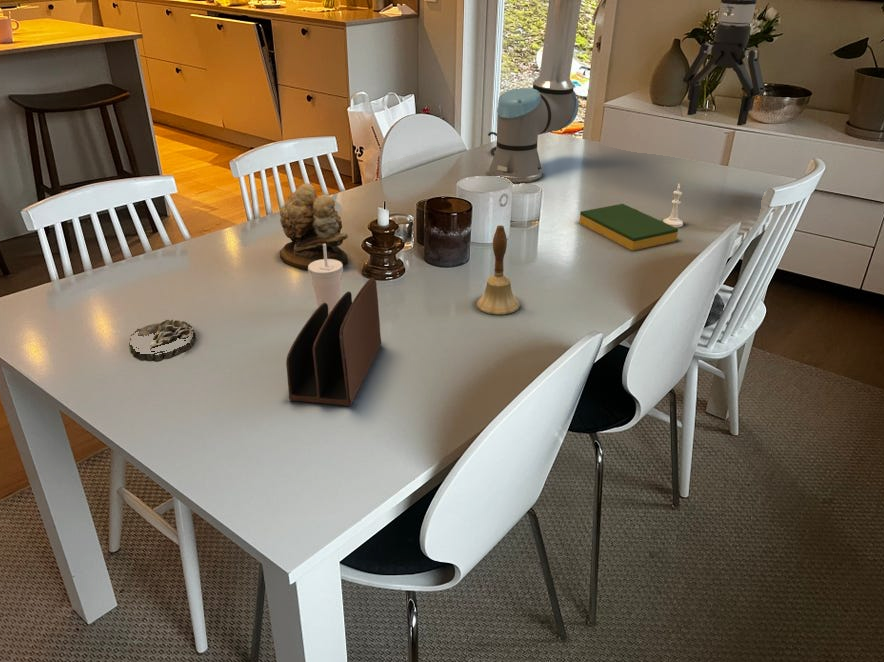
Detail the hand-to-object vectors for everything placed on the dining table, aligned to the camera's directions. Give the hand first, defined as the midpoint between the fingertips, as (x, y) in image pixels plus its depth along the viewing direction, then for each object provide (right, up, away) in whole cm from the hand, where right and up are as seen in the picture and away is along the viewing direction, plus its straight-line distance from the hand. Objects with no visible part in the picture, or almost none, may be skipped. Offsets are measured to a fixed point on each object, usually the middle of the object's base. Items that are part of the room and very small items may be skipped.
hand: (715, 119), depth 181 cm
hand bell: (-55, -48, -36) cm, 82 cm away
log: (-115, -56, -50) cm, 137 cm away
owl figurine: (-94, -36, -17) cm, 102 cm away
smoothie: (-87, -49, -39) cm, 108 cm away
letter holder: (-83, -60, -58) cm, 118 cm away
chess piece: (-10, -25, +2) cm, 27 cm away
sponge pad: (-22, -28, -2) cm, 36 cm away
